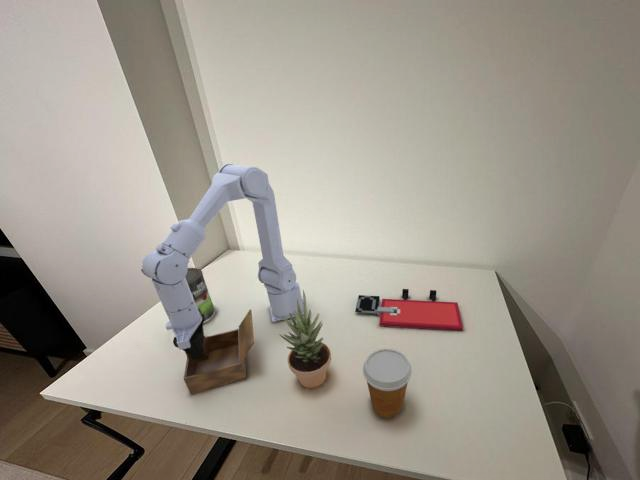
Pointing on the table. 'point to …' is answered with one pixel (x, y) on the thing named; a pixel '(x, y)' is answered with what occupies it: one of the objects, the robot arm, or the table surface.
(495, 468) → the table surface
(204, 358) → the block
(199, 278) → the coffee can
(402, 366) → the disposable coffee cup
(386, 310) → the red board with handle
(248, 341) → the flap
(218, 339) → the wooden box
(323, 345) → the potted plant
